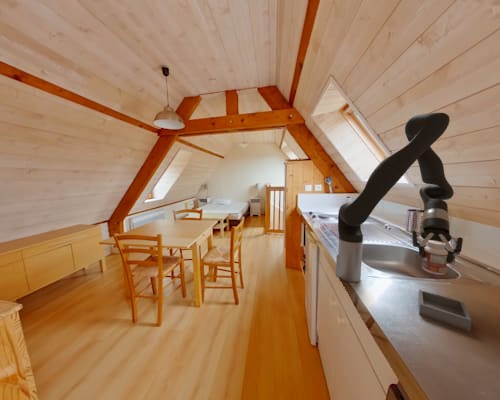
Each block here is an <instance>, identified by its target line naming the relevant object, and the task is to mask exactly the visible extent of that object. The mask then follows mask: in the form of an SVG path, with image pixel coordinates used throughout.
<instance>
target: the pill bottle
mask: <svg viewBox="0 0 500 400" xmlns="http://www.w3.org/2000/svg"><path fill="white" fill-rule="evenodd" d="M427 244H428V245H427V246H425V247H424V258H422V266H421V268H422V269H423V270H424V271H426V272H427V273H430V274H433V275H434V274H435V275H438V276H440V275H442V276H443V275H445V274H446V273H447V264H448V263H447V257H448V252H447V250H445V249H444V248H445V247H446V243H443V242H440V241H434V240H429V241H428V243H427Z"/></svg>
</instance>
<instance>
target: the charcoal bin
mask: <svg viewBox="0 0 500 400" xmlns="http://www.w3.org/2000/svg"><path fill="white" fill-rule="evenodd" d="M417 301H418V312H419V315H420V316H422V317H426V318H429V319H432V320H435V321H437V322H440V323H443V324H446V325H449V326H451V327H454V328H457V329H460V330H463V331H465V332H469V333H471V328H472V318H471V316H470V313H469V311H468V309H467V308H466V305H465V303H464V301H461V300H458V299H453V298H452V297H451V298H450V297H447V296H444V295H440V294H437V293H433V292H430V291H429V292H428V291H425V290H422V289H418V296H417Z"/></svg>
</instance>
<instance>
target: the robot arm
mask: <svg viewBox="0 0 500 400" xmlns="http://www.w3.org/2000/svg"><path fill="white" fill-rule="evenodd" d="M449 124H450V116H449V115H448V114H447V113H445V112H431V113H429V112H428V113H421V114H416V115H413V116H411V117H410V118H409V119H408V120H407V122H406V123H405V126H404V133H405V136H406V138H407V141H408V143H407V144H406V145H404V146H402V147H401V148H400V149H398V150H397V151H394V152H392V153H391V154H389V155H388V156H386V157H385V158H384V159H383V160H382V161H381V162H380V163H379V164H378V165H377V166H376V167H375V169H374V170H373V171H372V172H371V174H370V175H369V178H368V179H367V182H366V184H365V186H364V188H363V190H362V191H361V193H360V194H359V195H358V196H356V197H357V198H355V199H354V201H352V202H345V203H343V204H342V205H341V206H340V207H339V209H338V214H337V215H338V216H337V231H338V245H337V246H338V250H337V255H336V261H335V262H336V263H335V277H337V278H339V279H340V280H343V281H345V282H349V283H358V282H360V281H361V277H362V258H363V244H364V236H363V232H362V228H361V227H362V226H361V225H363V224H364V223H365V222H366V221H367V220H368V219H369V217H370V215H371V213H372V212H373V211H374V209H375V208H376V207H377V206H378V204H379V203H380V202H381V201H382V199H383V198H384V197H385V196H387V194H388V193H389V192H390V190H391V189H392V188H393V187H394V186H395V185H396V184H397V183H398V182H399V181H400V179H401V178H403V176H404V175H405V173H407V171H408V170H409V169H410V167H412V165H413V164H415V162H416V161H417V164H418V166H419V172H420V176H421V181H422V182H423V183H424V184H426V185H423V186H421V188H420V189H419V192H418V193H419V195H420V198H421V201H422V202H423V203H422V204H423V216H422V228H421V229H422V230H421V232H418V231H416V230H413V231H412V232H411V240H412V247H414V248H418V256H419V257H420V259H423V258H424V248H425V247H426V246H428V244H427V243H428V241H429V240H434V241H440V242H443V243H446V247H445V248H444V249H445V250H447V252H448V257H447V264H448V265H449V264H452V263H453V262H454V261H455V260H454V259H455V258H454V256H455V255H457V256H458V255H460V254H461V252H462V247H463V241H464V238H463V237H453V236H452V235H451V234H450V232H451V231H450V217H449V212H448V211H449V209H448V208H449V207H448V203H447V201H448V200H450V199H452V197H454V195H455V193H454V189H453V187H452V185H451V184H450V183H449V181H448V179H447V178H446V174H445V169H444V164H443V161H442V159H441V158H440V156H439V155H438V154H437V153H436V151H434V149H433V148H432V147H431V146H432V145H433V144H434V143H436V142H437V140H439V139H440V138H441V136H443V134H444V133H445V132H446V130H447V129H448V127H449V126H450V125H449ZM419 237H421V239H423V240H422V241H421V242H418V239H419ZM450 241H452V243H453V244H454V245H455V246H454V247H455V248H454V249H453V247H452V246H451V244H450Z"/></svg>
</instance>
